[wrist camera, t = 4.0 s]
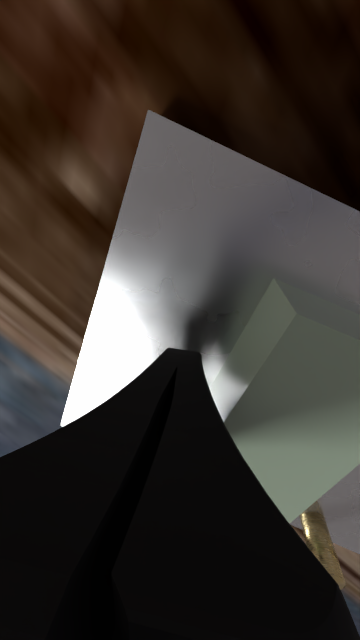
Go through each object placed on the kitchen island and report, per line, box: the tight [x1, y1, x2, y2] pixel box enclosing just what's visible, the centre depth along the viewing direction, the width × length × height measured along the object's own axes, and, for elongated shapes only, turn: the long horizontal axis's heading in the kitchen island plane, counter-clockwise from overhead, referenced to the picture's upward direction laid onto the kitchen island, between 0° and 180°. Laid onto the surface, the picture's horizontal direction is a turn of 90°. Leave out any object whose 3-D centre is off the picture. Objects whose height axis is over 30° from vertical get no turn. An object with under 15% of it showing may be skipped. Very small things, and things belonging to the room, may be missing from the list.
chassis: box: [60, 110, 360, 590], centre depth 10 cm, size 19×14×4 cm
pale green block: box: [210, 278, 360, 524], centre depth 9 cm, size 4×9×3 cm, turn 159°
